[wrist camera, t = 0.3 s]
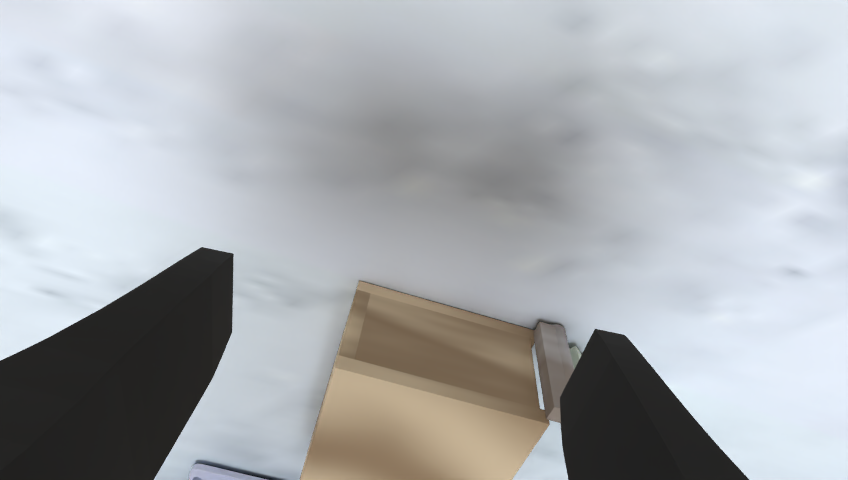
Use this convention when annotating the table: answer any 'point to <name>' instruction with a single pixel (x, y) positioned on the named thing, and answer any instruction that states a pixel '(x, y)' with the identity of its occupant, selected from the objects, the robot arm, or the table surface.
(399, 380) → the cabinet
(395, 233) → the table surface
